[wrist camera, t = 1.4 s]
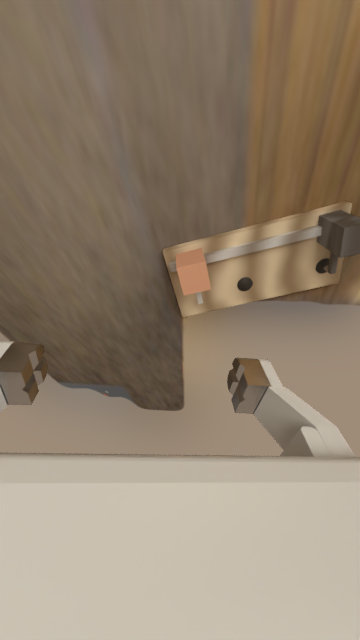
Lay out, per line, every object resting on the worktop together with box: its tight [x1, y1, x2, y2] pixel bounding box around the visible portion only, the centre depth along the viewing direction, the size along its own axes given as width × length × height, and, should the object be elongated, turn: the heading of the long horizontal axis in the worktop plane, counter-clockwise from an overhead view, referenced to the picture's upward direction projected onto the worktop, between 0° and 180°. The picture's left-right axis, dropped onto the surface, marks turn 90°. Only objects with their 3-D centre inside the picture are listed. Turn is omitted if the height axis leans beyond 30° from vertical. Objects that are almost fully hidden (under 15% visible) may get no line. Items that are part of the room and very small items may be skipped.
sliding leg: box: [176, 248, 211, 304], centre depth 37 cm, size 4×9×6 cm, turn 14°
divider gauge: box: [163, 201, 360, 317], centre depth 38 cm, size 28×13×8 cm, turn 104°
